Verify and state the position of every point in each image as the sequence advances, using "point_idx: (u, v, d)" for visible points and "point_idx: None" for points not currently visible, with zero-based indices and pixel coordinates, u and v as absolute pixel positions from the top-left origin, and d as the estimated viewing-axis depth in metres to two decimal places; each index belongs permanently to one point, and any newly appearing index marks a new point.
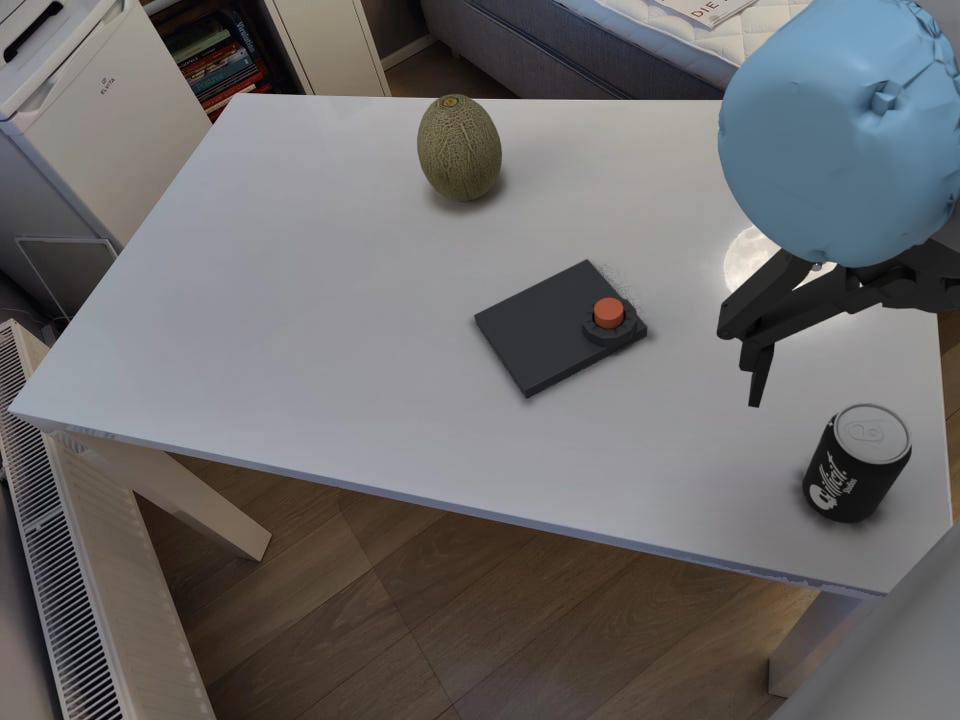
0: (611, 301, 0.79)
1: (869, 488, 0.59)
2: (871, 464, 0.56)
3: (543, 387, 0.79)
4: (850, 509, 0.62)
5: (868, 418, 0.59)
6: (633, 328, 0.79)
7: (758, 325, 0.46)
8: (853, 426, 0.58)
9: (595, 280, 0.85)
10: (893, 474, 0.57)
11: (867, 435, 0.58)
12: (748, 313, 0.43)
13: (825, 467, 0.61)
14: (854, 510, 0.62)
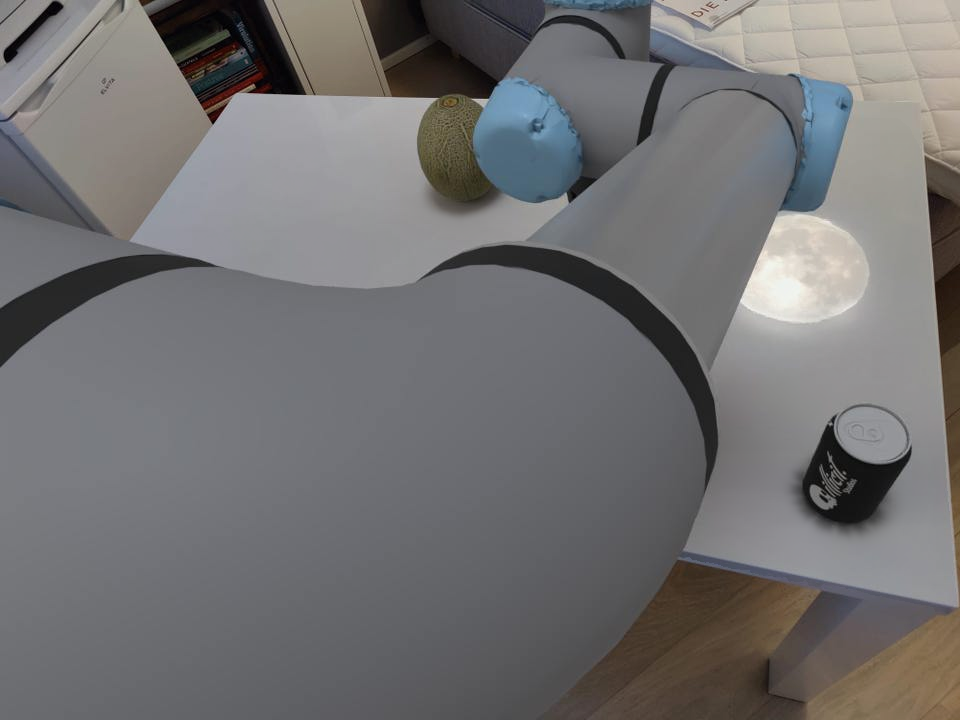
0: None
1: (869, 488, 0.59)
2: (871, 464, 0.56)
3: None
4: (850, 509, 0.62)
5: (868, 418, 0.59)
6: None
7: None
8: (853, 426, 0.58)
9: None
10: (893, 474, 0.57)
11: (867, 435, 0.58)
12: None
13: (824, 467, 0.61)
14: (854, 510, 0.62)
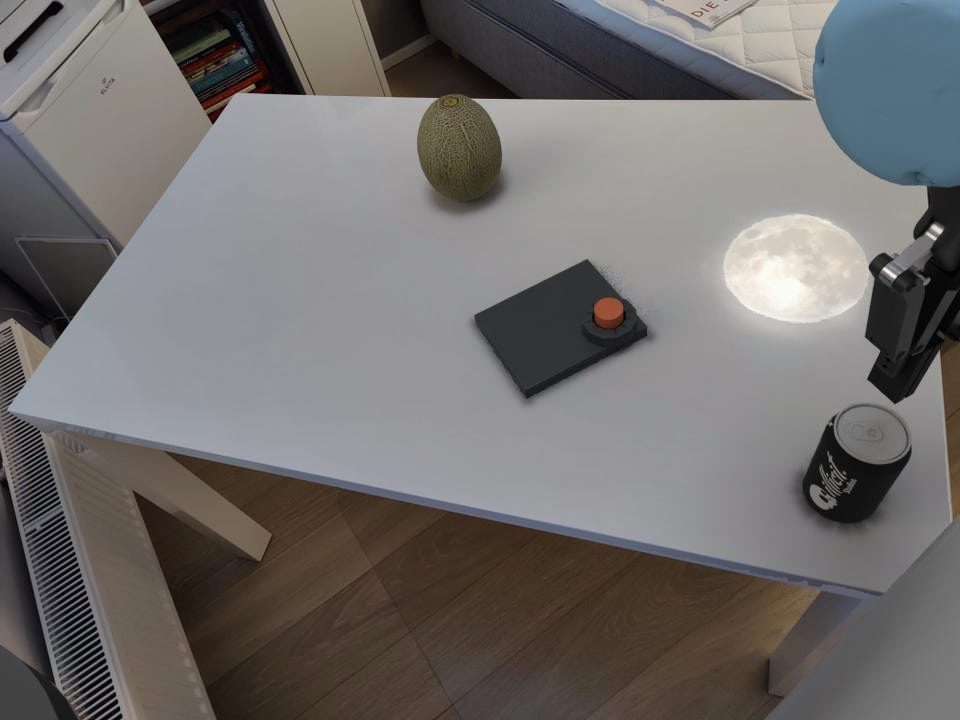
0: (611, 301, 0.79)
1: (869, 488, 0.59)
2: (871, 464, 0.56)
3: (543, 387, 0.79)
4: (850, 509, 0.62)
5: (868, 418, 0.59)
6: (633, 328, 0.79)
7: None
8: (853, 426, 0.58)
9: (595, 280, 0.85)
10: (893, 474, 0.57)
11: (867, 435, 0.58)
12: None
13: (824, 467, 0.61)
14: (854, 510, 0.62)
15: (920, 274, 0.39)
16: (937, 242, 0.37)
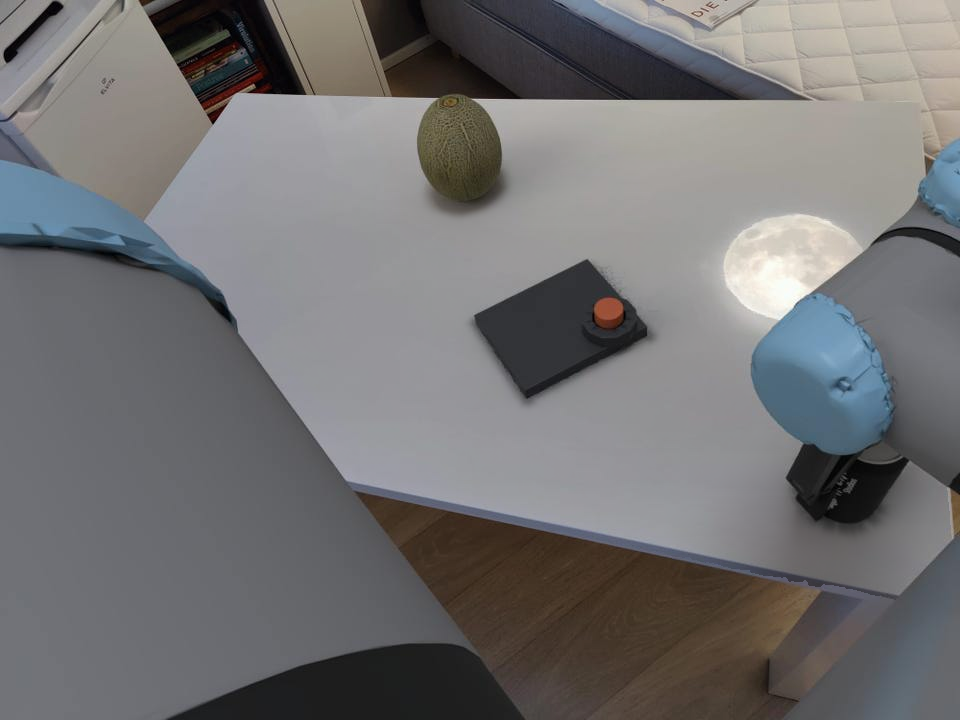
0: (611, 301, 0.79)
1: (870, 488, 0.59)
2: (871, 464, 0.56)
3: (543, 387, 0.79)
4: (850, 509, 0.62)
5: None
6: (633, 328, 0.79)
7: None
8: None
9: (595, 280, 0.85)
10: (893, 474, 0.57)
11: None
12: None
13: None
14: (854, 510, 0.62)
15: None
16: None
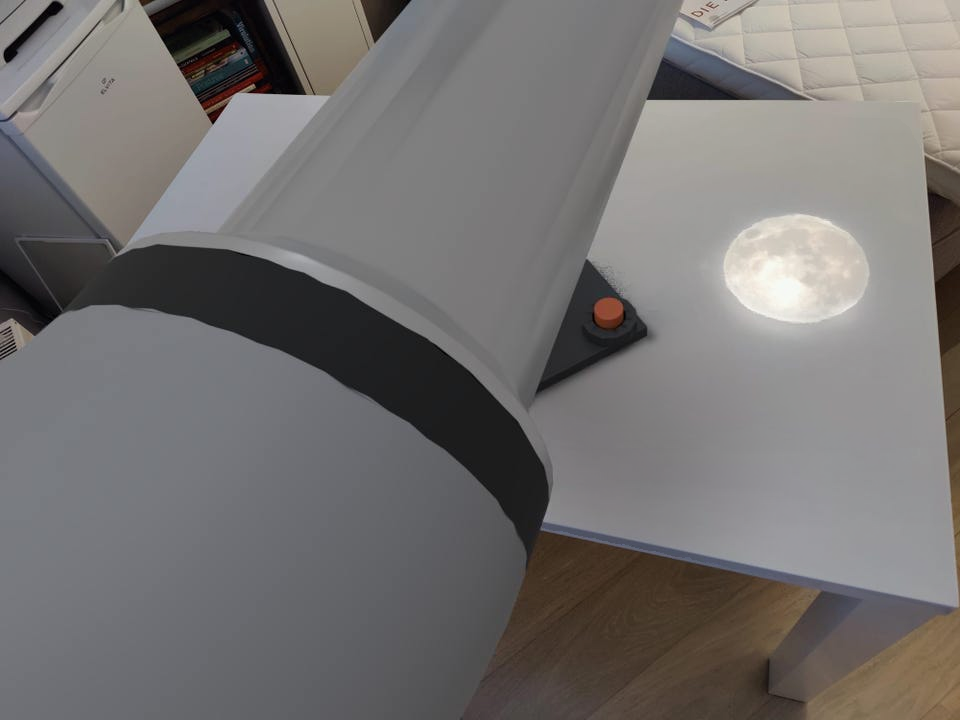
0: (611, 301, 0.79)
1: None
2: None
3: (543, 387, 0.79)
4: None
5: None
6: (633, 328, 0.79)
7: None
8: None
9: (595, 280, 0.85)
10: None
11: None
12: None
13: None
14: None
15: None
16: None
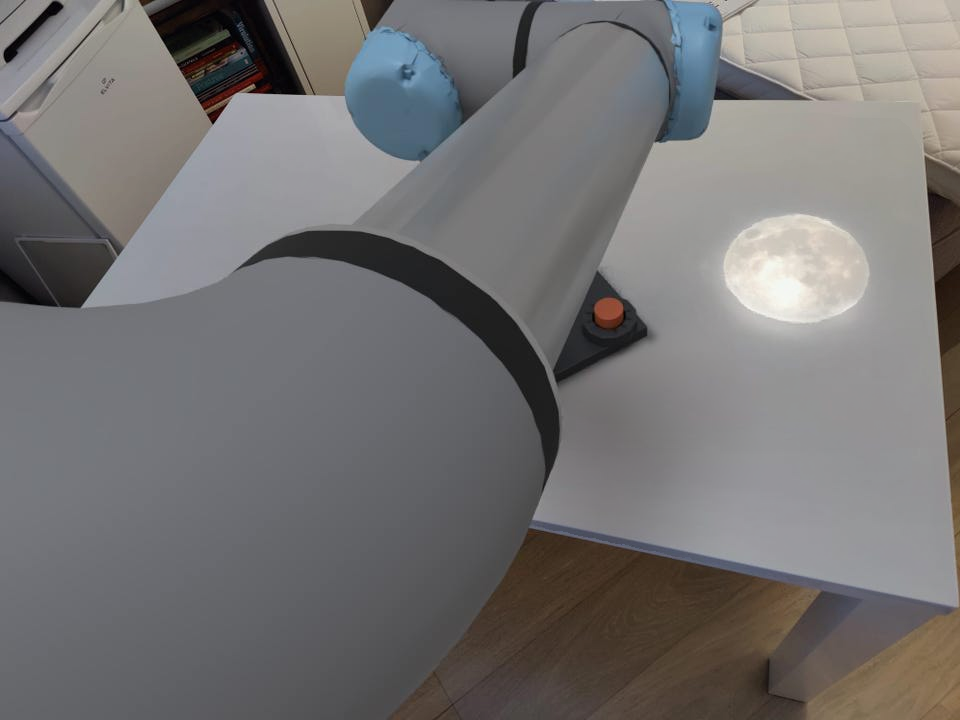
0: (611, 301, 0.79)
1: None
2: None
3: None
4: None
5: None
6: (633, 328, 0.79)
7: None
8: None
9: (595, 280, 0.85)
10: None
11: None
12: None
13: None
14: None
15: None
16: None
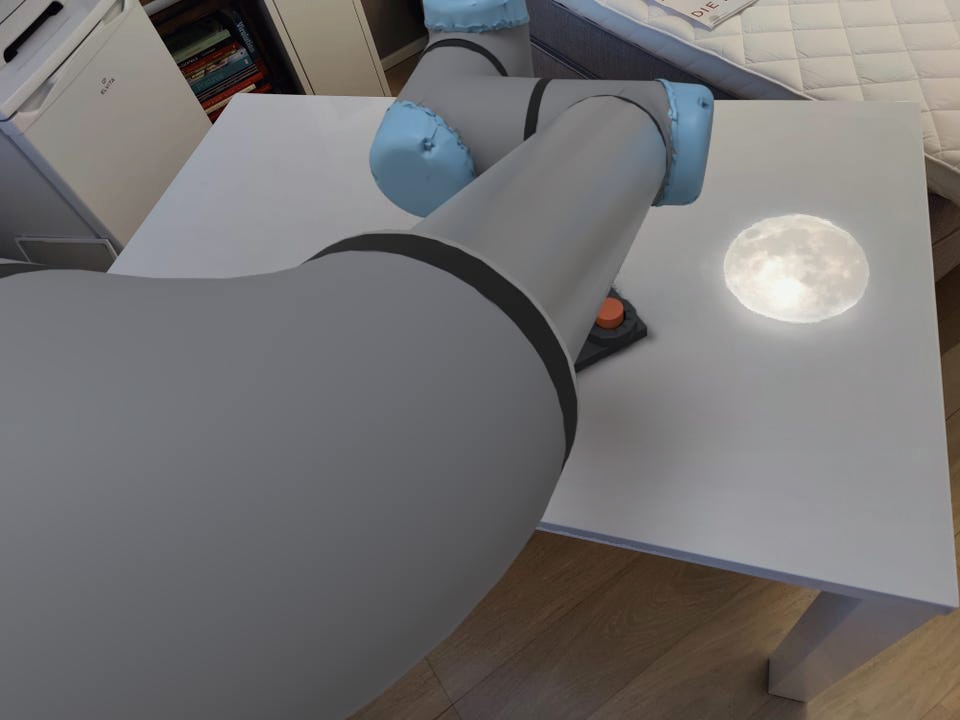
0: (611, 301, 0.79)
1: None
2: None
3: None
4: None
5: None
6: (633, 328, 0.79)
7: None
8: None
9: None
10: None
11: None
12: None
13: None
14: None
15: None
16: None
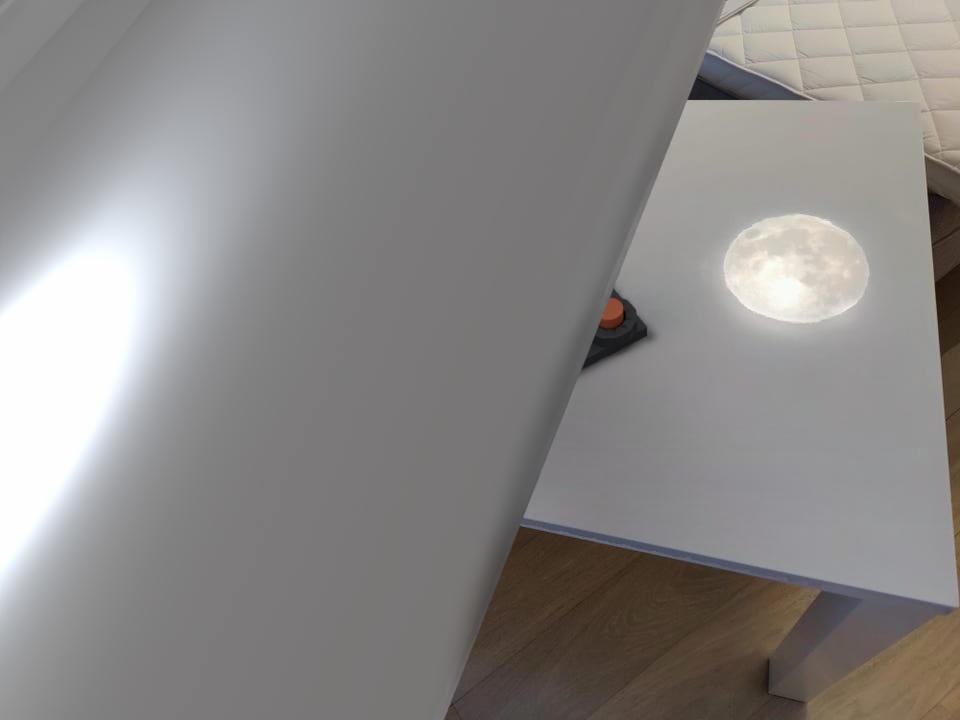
0: (611, 301, 0.79)
1: None
2: None
3: None
4: None
5: None
6: (633, 328, 0.79)
7: None
8: None
9: None
10: None
11: None
12: None
13: None
14: None
15: None
16: None
